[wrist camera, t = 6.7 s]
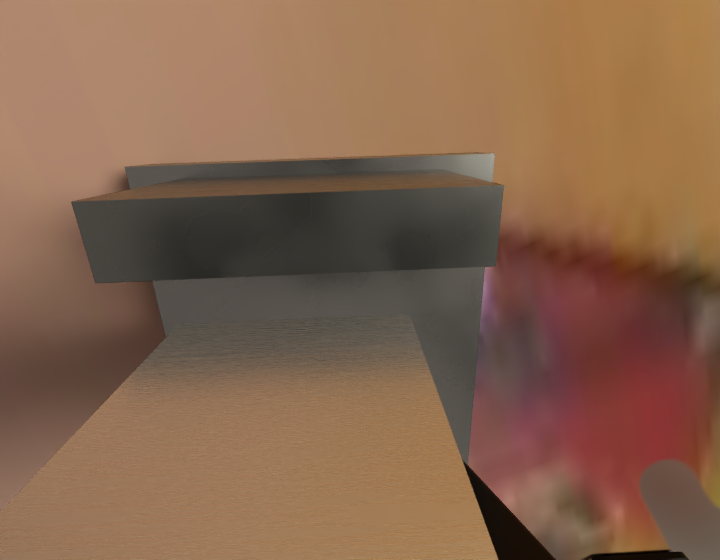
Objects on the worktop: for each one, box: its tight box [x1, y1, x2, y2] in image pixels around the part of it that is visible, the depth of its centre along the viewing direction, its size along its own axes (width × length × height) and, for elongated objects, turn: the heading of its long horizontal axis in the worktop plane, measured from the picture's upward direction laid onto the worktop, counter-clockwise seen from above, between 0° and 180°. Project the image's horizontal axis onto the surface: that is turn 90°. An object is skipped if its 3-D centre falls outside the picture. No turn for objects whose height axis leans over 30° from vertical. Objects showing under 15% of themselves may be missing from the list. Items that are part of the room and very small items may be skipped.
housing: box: [0, 314, 498, 560], centre depth 6 cm, size 5×5×6 cm
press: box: [71, 152, 504, 465], centre depth 17 cm, size 14×29×8 cm, turn 2°
